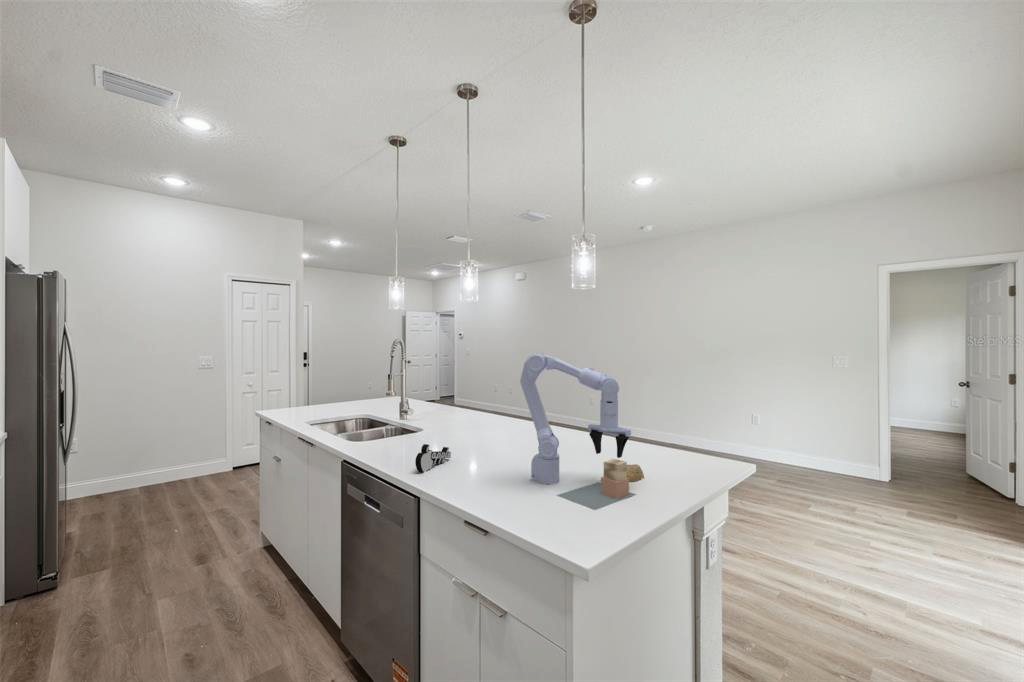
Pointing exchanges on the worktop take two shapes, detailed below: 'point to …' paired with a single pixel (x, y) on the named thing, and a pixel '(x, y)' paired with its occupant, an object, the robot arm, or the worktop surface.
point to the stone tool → (634, 473)
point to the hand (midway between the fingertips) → (608, 455)
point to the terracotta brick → (615, 487)
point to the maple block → (615, 469)
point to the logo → (430, 458)
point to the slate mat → (591, 496)
